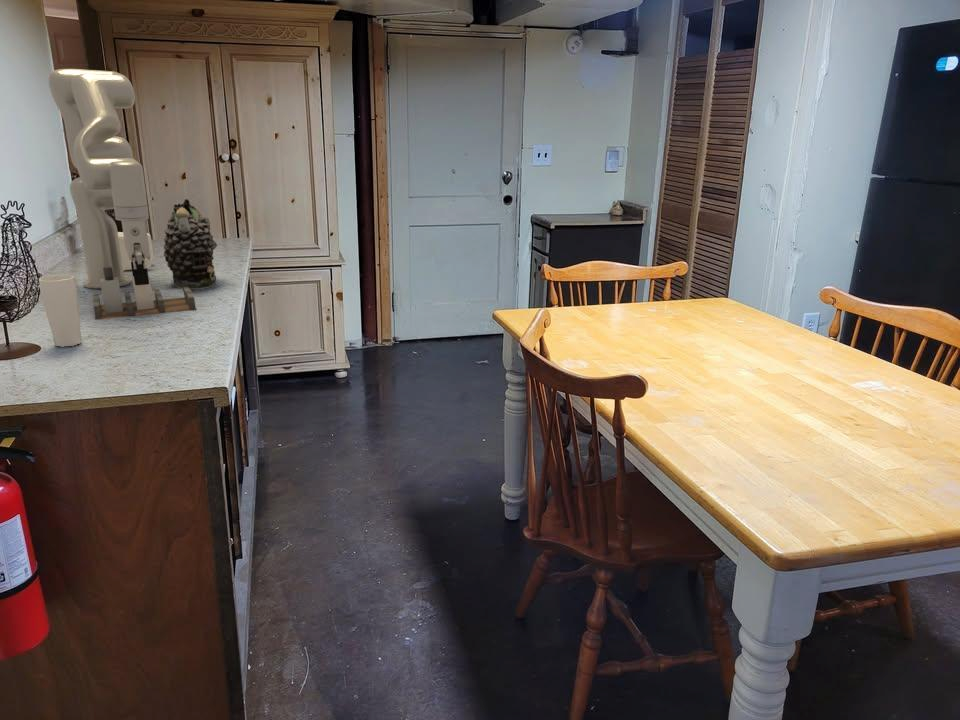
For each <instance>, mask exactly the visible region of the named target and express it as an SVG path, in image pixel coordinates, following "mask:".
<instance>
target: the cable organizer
mask: <svg viewBox="0 0 960 720" xmlns="http://www.w3.org/2000/svg"><path fill="white" fill-rule="evenodd" d="M117 232H118V238H119V245H120V252H121V259H122V265H123V272H125V271H128V270H129V271H130V270H131V271H132V267H131V262H133V261H132V260H130V259H129V256H128V253H127V250H126V245H125V241H124V235H123V231H122V232H121V231H117ZM147 235H148V243H149V250H150V257H151V258H150V259H149V260H148V258H145V263H146V268H147V270H148V269H149V268H150V267H152V265H153V262H154V260H155V259H154V251H153V244H152V243H153V242H152V237H151V234H150V233H148V232H147ZM144 257H145V256H144Z"/></svg>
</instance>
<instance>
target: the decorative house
mask: <svg viewBox="0 0 960 720" xmlns="http://www.w3.org/2000/svg"><path fill="white" fill-rule="evenodd" d="M183 201H184V202H183V203H181V204H180V203H178V204H174V205H173V210H172V212H171V216H170V217H169V218H168V219H167V226H166V228H165V229H164V233H165V237H164V238H163V240H164V244H163V249H164V251H163V257H165V259H164V260H165V262H166V264H167V267H168V268H169V270H170V271H171V272H172V279H173V285H174V286H175V287H177V288H179V289H183V287H188V288H189V290H192V291H193V290H194V291H195V290H198V289H199V290H202V289H203V290H204V289H207V288H211V287H214V285H215V283H216V279H217V276H216V271H215V265H214V264H213V260H214V259H215V258H214V256H213V255H214V250H215V249H216V248H217V246H218V244H217V242H216V241H215V240H214V236H213V234H212V233H211V222H210V219H209V218H210V217H207V216H205V217H204V216H203V214H202V213H200V211H199V210H198V209H197V208H196V207H195V206H193V205H191V204H190V201H189V199H187V198H186V199H184V200H183Z"/></svg>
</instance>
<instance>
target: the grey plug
mask: <svg viewBox="0 0 960 720" xmlns="http://www.w3.org/2000/svg"><path fill="white" fill-rule="evenodd" d="M103 272H104V278H102V279H100V282H101V288H100V289H101V292H102V293H101V294H102V302H103V305H104V307H105V313H112V312H123V307H122V303H123V301H122V295H121V289H120V288H121V286H120V287H119V281H118V277H115V278H113V271H112V267H104V268H103Z"/></svg>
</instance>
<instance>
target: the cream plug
mask: <svg viewBox="0 0 960 720" xmlns="http://www.w3.org/2000/svg"><path fill="white" fill-rule="evenodd" d="M148 278H149V284H148V285H135V281H134V276H133V275H131V279H132V288H133V292H134V300H135V301H134V302H136V307H137V310H143V309H153V308H154V302H153V300H154V297H153V289H152V282H151V276H150V274H148Z"/></svg>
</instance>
